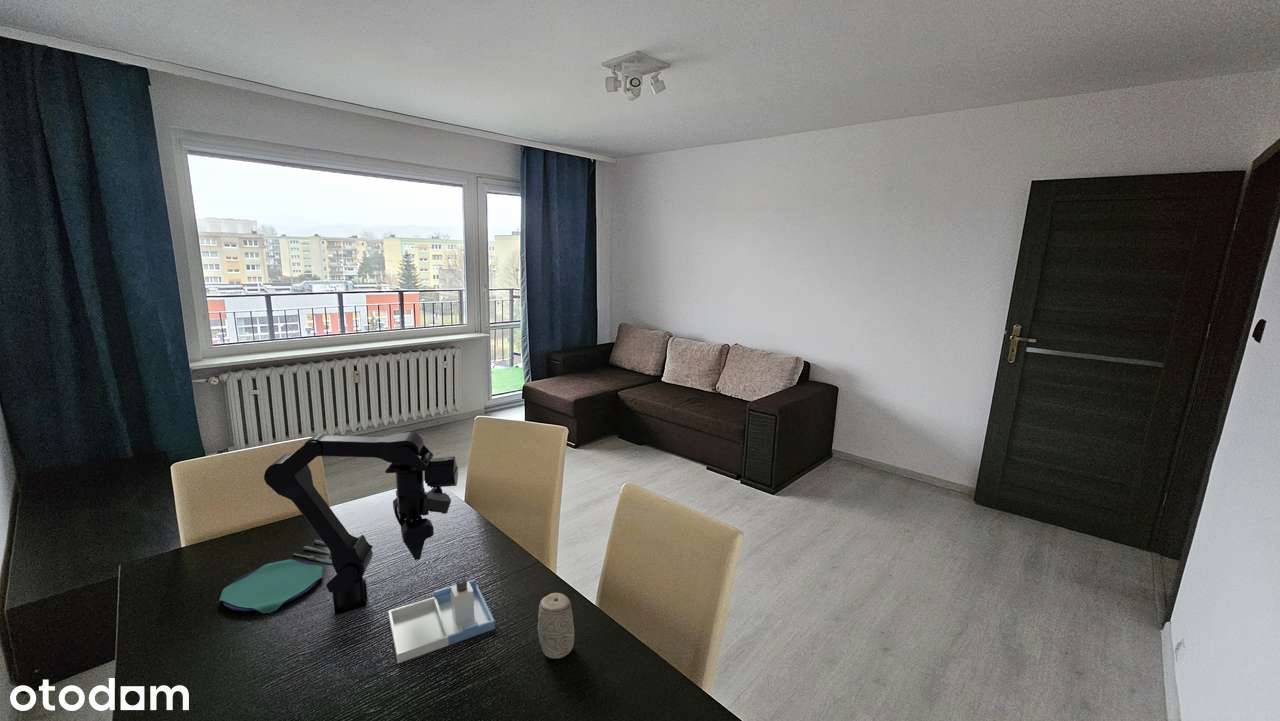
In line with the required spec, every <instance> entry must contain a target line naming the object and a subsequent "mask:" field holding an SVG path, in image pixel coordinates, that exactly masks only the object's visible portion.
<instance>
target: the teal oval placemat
mask: <svg viewBox="0 0 1280 721" xmlns="http://www.w3.org/2000/svg"><path fill="white" fill-rule="evenodd" d="M314 543H316V544H315V545H321V546H324V547H327V546H326V545H325V543H324V542H323V541H322V540H319V539H314V540H313V544H314ZM303 550H307V551H313V552H318V553H321V554H325V555H328V556H329V557H330V558H331V554H330V551H329V552H328V551H325V550H323V549H319V548H315V547H312V546H308V545H305V546H303ZM293 555H295V556H296V557H297V556H298V557H302V558H307V559H308V560H309V561H307V560H295V559H285V560H279V561H275V562H270V563H266V564H263V565H262V566H260V567H259V568H256V569H254V570H251V571H250V572H248V573H245V574H243V575H241V576H240V577H239V578H237V579H235V580H234V581H232V582H231V583H230V584H229V585H227V586H225V587H224V588H223V589H222V591H221V593H220V596H219V600H218V602H222V604H223V606H224V607H226V608H228V609H230V610H232V611H240V612H252V611H253V612H254V611H258V612H260V613H261V614H265V613H268V612H271V611H275V612H276V611H277V610H278V609H279V608H280V607H281V606H282V605H283V604H287V603H288V602H292V601H294V600H295V599H298V598H299V597H301V596H303V595H304V594H306V593H308V592H309V591H310V590H312V589H313V588H314V587H315V586H316V585H317V584H318V582H319V580H322V579H324V575H323V574H324V572H323V571H324V569H323V568H324V567H323V566H321V565H318V564H316V563H315V562H314V561H316V562H319V563H323V564H328V565H332V560H329V559H324V558H320V557H317V555H315V556H314V555H304V554H301V553H300V554H299V553H297V552H294V553H293V554H292V556H293ZM310 560H312V562H311V561H310Z"/></svg>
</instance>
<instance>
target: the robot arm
mask: <svg viewBox="0 0 1280 721" xmlns="http://www.w3.org/2000/svg"><path fill="white" fill-rule="evenodd" d="M317 457H336V458H338V457H342V458H343V457H344V458H375V459H381V460H383V461H386V462H387V463H390V464H389V465H388V466H387V468H385V471H384V472H385V474H394V473H395V483H396V484H395V485H396V490H395V495H396V498H395V499H393V501H392V509H393V511H394V515H395V518H396V520H397V522H398V524H399V526H400V532H401V538H402V542H403V544H405V546H406V548H407V549H408V551H409V552H410V554H411V555H412V557H413V559H414V560H415V561H418V560H421V557H422V554H423V550H424V545H425V541H426V540H427V539H430V538H431V537H433V536H434V534H435V532H434V526H433V523H432V521H431V520H430V519H428V518H427V517H424V516H428V515H429V512H433V513H441V514H443V515H444V514H445V515H446V514H448V511H449V509H450V506H451V504H452V500H451V497H450V496H449V494H447V493H446V492H443V489H442V488H445V487H457V486H458V482H459V481H458V478H459V468H458V467H459V466H458V465H457V461H456V456H454V455H453V456H447V457H435V458H433V457H434V453H433V452H431V451H430V449H428V447H426V445H425V444H424V441H423V439H422V437H421V436H420V435H419V434H418V433H416V432H413V431H409V432H408V431H407V432H399V433H394V434H389V435H386V436H380V437H379V436H378V437H377V436H356V435H355V436H354V435H331V434H330V435H329V434H328V435H327V434H323V433H318V434H317V433H316V434H314V435H313V436H311V437H310V438H309V439H308V440H307V441H306V442H305V443H304V444H303V445H302V446H300V447H299V449H297V450H296V451H295V452H293V453H292V452H291V453H290V452H289V453H286V454H284V455H282V456H280V457H279V458H277V460H275V461H274V462H273V463H272V464H271V465H269V466H268V467H267V468H266V469H265V472H264V475H263V481H265V484H266V485H267V486H268V487H269V488H271V489H272V490H273V491H274V492H275V493H276V494H277V495H279V496H281V497H283V498H286V499H288V500H290V501H292V502H293V504H294V505H295V507H296V508H297V509H298V511H299V512H300V513H301V515H303V517H304V518H305V520H306V521H307V523H308V524H309V525H310V526H311V527H312V529H313V531H314V532H315V533H316V534H317V536H318V537H319V538H320V539H321V541H323V542H324V543H325V545H326V546H325V547H327V549H328V550H329V553H330V554H331V557H330V561H332V564H331V565H332V567H333V569H334V571H333V573H332V574H331V576H330V578H329V579H328V581H327V583H326V585H325V587H326V588H327V590H328V592H329V593H330V594H331V593H332V610H333V616H338V615H342V614H344V613H348V612H351V611H355V610H359V609H362V608H364V607H366V606H367V602H366V601H367V600H368V587H367V586H368V585H367V581H366V580H367V579H366V578H364V575H365V572H366V570H367V568H368V567H369V565H370V563H371V561H372V558H373V554H374V553H373V550H372V549H373V545H371V544H370V543H369V542H368V541H367V539H366V537H365V535H364V534H361V535H360V536H358V537H356V536H354V535H352V534H350V532H348V530H347V529H346V528H345V526H344V525H343V523H342V522H341V520H339V518H338V517H337V515H336V514H335V513H334V511H333V510H332V509H331V507H330V506H329V505H328V503H327V502H326V501H325V499H324V498H323V496H322V495H321V494H320V492H319V491H318V490H317V489H316V487H315V486H314V480H313V475H312V471H311V469H310V467H309V464H310V463H311V462H312V461H313V460H314V459H316V458H317ZM425 484H426V486H427V487H430V488H431V489H430V490H428V491H426V490H425ZM422 516H423V517H424V518H423V517H422Z"/></svg>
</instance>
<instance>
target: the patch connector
mask: <svg viewBox="0 0 1280 721" xmlns="http://www.w3.org/2000/svg"><path fill="white" fill-rule="evenodd" d="M467 581H468V582H467ZM469 581H470V580H466V579H465V578H464V579H463V578H462V579H459V580H457V581H456V582H455V583H456V584H457V585H456V584H454V585H455V586H453V585H451V586H452V587H451V603H452V615H453V618H454V621H455V623H456V625H457V624H460V623H463V622H466V621H469V620H472V619H474V594H473V589H472V587H471V585H470V583H469Z"/></svg>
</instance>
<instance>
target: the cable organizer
mask: <svg viewBox="0 0 1280 721" xmlns="http://www.w3.org/2000/svg"><path fill="white" fill-rule="evenodd" d="M466 581H467V582H468V581H469V583H470V585H471V587H472V589H473V594H474V619H472V620H469V621H466V622H463V623H460V624H457V625H456V623H455V621H454V618H453V615H452V603H451V587H452V586H455V585H457V584H453V585H450V586H447V587H444V588H440V589H437V590H433V597H429V598H427V599H426V598H425V599H423V600H419V601H416V602H414V603H410V604H407V605H403V606H399V607H396V608H393V609H390V610H388V611H387V613H388V621H389V625H390V632H391V635H392V636H391V637H392V641H393V645H394V650H395V651H394V653H395V656H396V663H397V664H400V663H403V662H406V661H408V660H411V659H414V658H417V657H420V656H423V655H425V654H429V653H431V652H435V651H436V650H440V649H443V648H446V647H448V646H450V645H453V644H457V643H460V642H462V641H464V640H468V639H470V638H472V637H473V638H474V637H477V636H479V635H482V634H485V633H487V632H491V631H493V630H496V629H495V628H496V624H495V622H496V621H495V619H494V616H493V614H492V612H491V611H490V608H489V606H488V604H487V602H486V600H485V598H484V596H483V594H482V592H481V590H480V588H479V586H478V584H477V583H476V579H475V578H474V579H470V580H466Z"/></svg>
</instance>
